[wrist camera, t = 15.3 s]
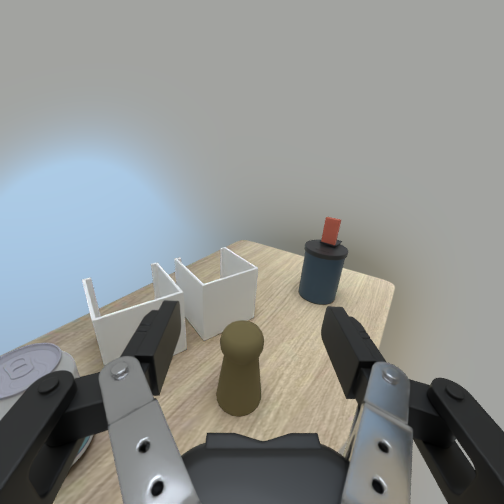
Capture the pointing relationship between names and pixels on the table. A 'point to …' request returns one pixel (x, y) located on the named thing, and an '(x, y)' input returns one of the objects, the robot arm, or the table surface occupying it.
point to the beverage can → (32, 374)
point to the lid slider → (331, 232)
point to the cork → (240, 368)
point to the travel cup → (321, 271)
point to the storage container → (182, 304)
